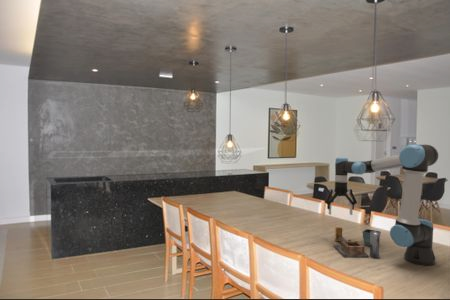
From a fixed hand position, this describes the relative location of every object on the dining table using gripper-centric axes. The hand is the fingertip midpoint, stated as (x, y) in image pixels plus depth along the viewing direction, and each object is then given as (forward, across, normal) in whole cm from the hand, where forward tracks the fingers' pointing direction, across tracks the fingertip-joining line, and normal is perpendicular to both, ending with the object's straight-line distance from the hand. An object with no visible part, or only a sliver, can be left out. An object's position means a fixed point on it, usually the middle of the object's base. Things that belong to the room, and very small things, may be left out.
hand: (340, 214), depth 219 cm
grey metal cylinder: (+18, -11, +26) cm, 33 cm away
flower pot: (+18, -18, +6) cm, 26 cm away
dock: (+18, 0, +18) cm, 26 cm away
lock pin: (+18, 0, +7) cm, 19 cm away
